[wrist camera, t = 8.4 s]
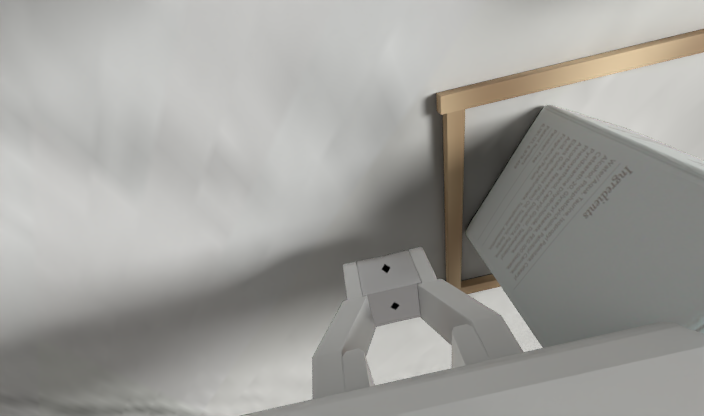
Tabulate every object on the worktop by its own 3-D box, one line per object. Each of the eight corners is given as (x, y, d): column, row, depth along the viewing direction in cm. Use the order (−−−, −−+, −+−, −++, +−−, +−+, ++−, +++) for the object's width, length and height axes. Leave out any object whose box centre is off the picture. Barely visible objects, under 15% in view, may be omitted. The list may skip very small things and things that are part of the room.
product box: (458, 231, 14) (577, 414, 8) (542, 97, 10) (859, 229, 4) (561, 250, 15) (726, 413, 9) (661, 140, 12) (1010, 278, 6)
